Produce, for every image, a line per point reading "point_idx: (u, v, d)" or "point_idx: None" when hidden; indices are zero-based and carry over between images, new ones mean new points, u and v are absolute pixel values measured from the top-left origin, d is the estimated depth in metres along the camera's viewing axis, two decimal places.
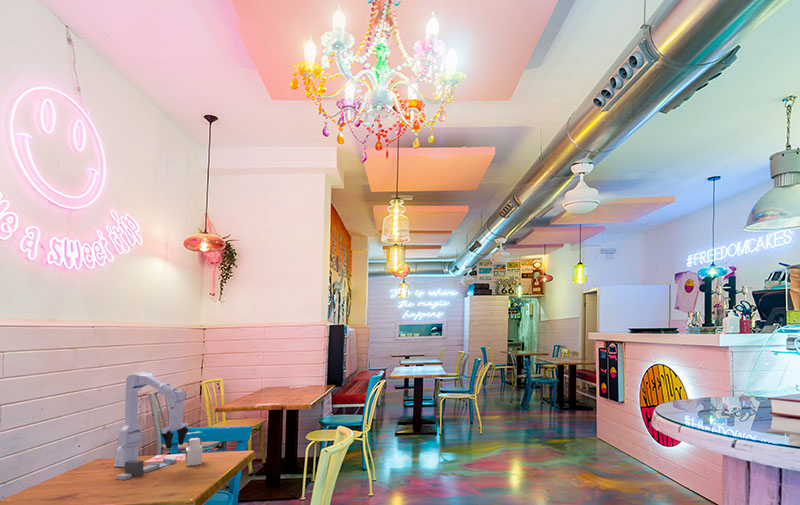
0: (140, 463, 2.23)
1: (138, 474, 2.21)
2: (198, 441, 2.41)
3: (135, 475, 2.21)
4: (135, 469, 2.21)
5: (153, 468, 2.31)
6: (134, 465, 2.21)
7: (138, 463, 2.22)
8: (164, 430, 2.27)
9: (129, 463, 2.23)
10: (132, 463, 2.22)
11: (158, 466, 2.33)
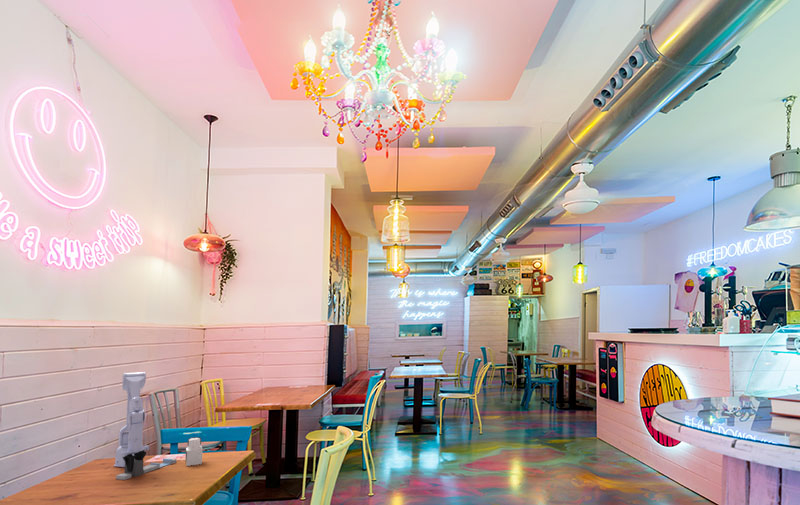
0: (140, 463, 2.23)
1: (138, 474, 2.21)
2: (198, 441, 2.41)
3: (135, 475, 2.21)
4: (135, 469, 2.21)
5: (153, 468, 2.31)
6: (134, 465, 2.21)
7: (138, 463, 2.22)
8: (122, 454, 2.18)
9: None
10: None
11: (158, 466, 2.33)
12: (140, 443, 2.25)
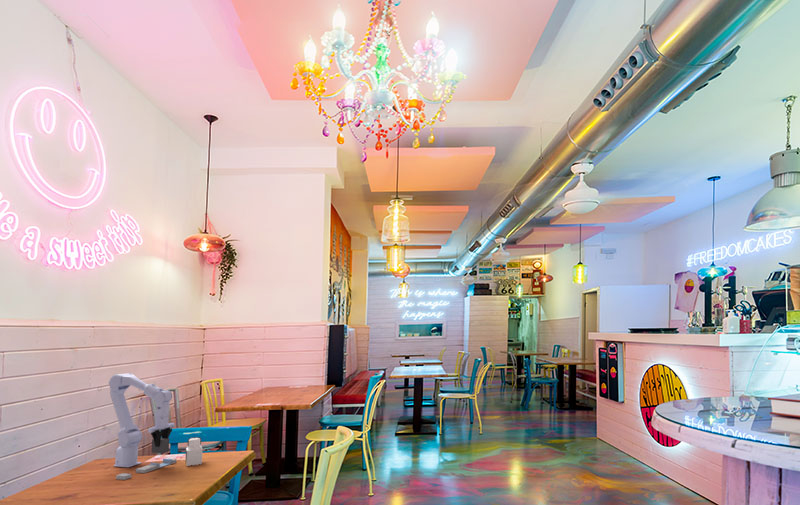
0: (166, 441, 2.38)
1: (164, 451, 2.37)
2: (198, 441, 2.41)
3: (162, 452, 2.36)
4: (162, 446, 2.36)
5: (153, 468, 2.31)
6: (161, 442, 2.37)
7: (164, 441, 2.37)
8: (150, 430, 2.33)
9: None
10: None
11: (158, 466, 2.33)
12: (166, 420, 2.40)
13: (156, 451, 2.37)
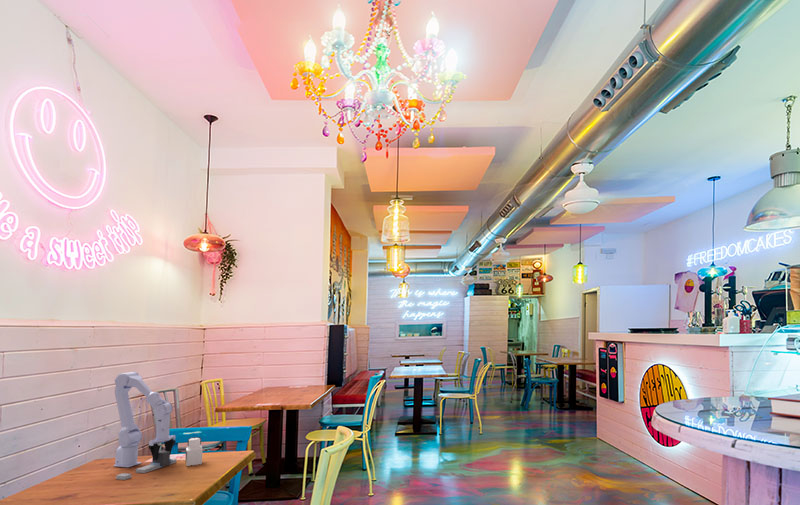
0: (167, 453, 2.38)
1: (165, 464, 2.37)
2: (198, 441, 2.41)
3: (162, 465, 2.36)
4: (162, 459, 2.36)
5: (153, 468, 2.31)
6: (161, 455, 2.37)
7: (165, 453, 2.37)
8: (151, 443, 2.33)
9: None
10: (159, 453, 2.37)
11: (158, 466, 2.33)
12: (167, 433, 2.40)
13: None
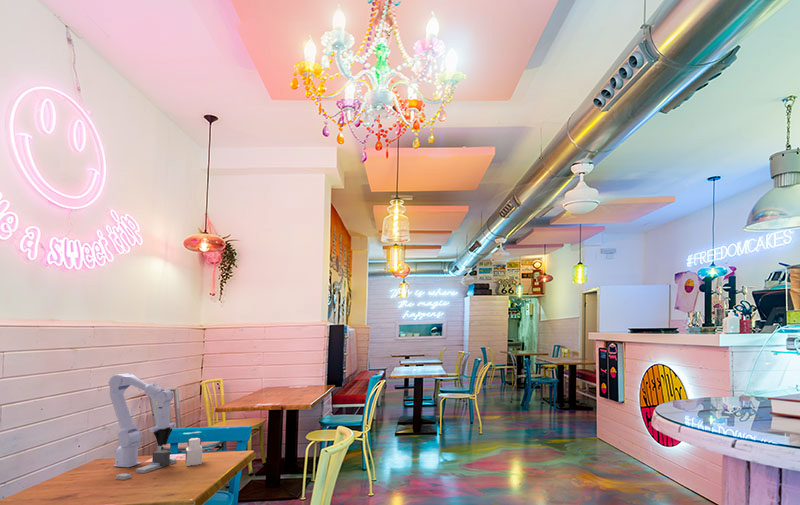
0: (167, 453, 2.38)
1: (165, 464, 2.37)
2: (198, 441, 2.41)
3: (162, 465, 2.36)
4: (162, 459, 2.36)
5: (153, 468, 2.31)
6: (161, 455, 2.37)
7: (165, 453, 2.37)
8: (152, 429, 2.34)
9: (157, 453, 2.38)
10: (159, 453, 2.37)
11: (158, 466, 2.33)
12: (168, 420, 2.41)
13: None
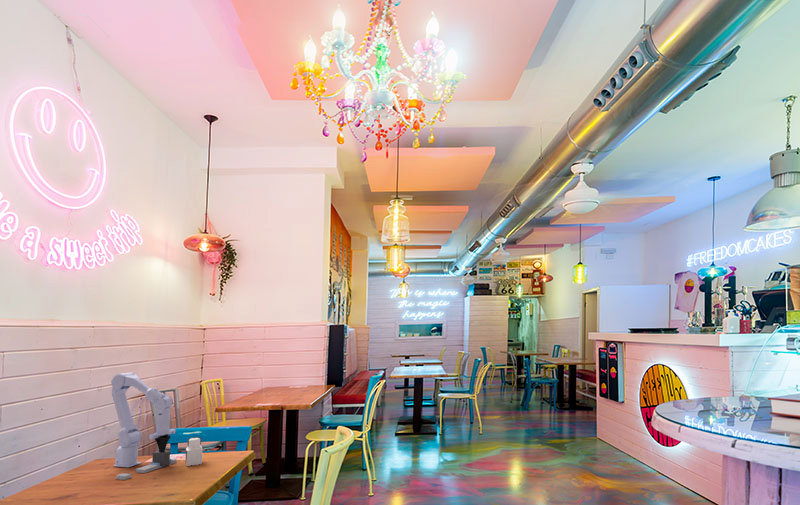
0: (167, 453, 2.38)
1: (165, 464, 2.37)
2: (198, 441, 2.41)
3: (162, 465, 2.36)
4: (162, 459, 2.36)
5: (153, 468, 2.31)
6: (161, 455, 2.37)
7: (165, 453, 2.37)
8: (151, 436, 2.33)
9: (157, 453, 2.38)
10: (159, 453, 2.37)
11: (158, 466, 2.33)
12: (168, 426, 2.40)
13: None
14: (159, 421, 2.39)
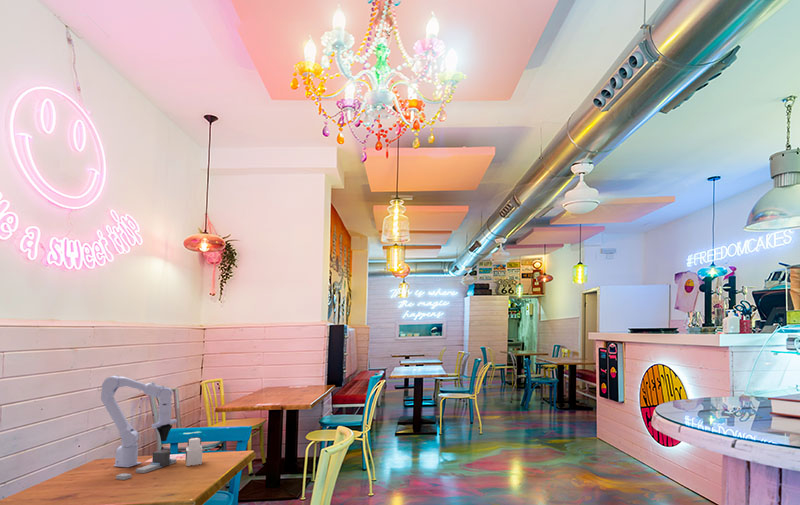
0: (167, 453, 2.38)
1: (165, 464, 2.37)
2: (198, 441, 2.41)
3: (162, 465, 2.36)
4: (162, 459, 2.36)
5: (153, 468, 2.31)
6: (161, 455, 2.37)
7: (165, 453, 2.37)
8: (154, 425, 2.41)
9: (157, 453, 2.38)
10: (159, 453, 2.37)
11: (158, 466, 2.33)
12: (169, 416, 2.48)
13: None
14: (164, 411, 2.46)
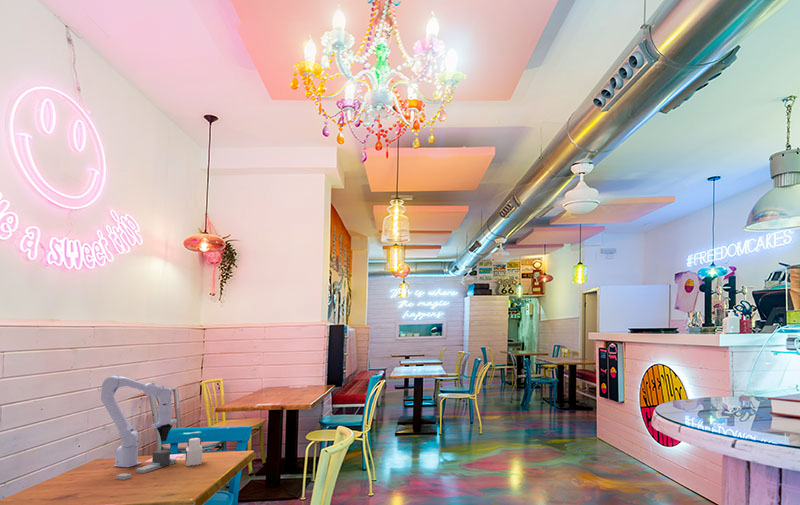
0: (167, 453, 2.38)
1: (165, 464, 2.37)
2: (198, 441, 2.41)
3: (162, 465, 2.36)
4: (162, 459, 2.36)
5: (153, 468, 2.31)
6: (161, 455, 2.37)
7: (165, 453, 2.37)
8: (154, 425, 2.41)
9: (157, 453, 2.38)
10: (159, 453, 2.37)
11: (158, 466, 2.33)
12: (169, 416, 2.48)
13: None
14: (164, 411, 2.46)
